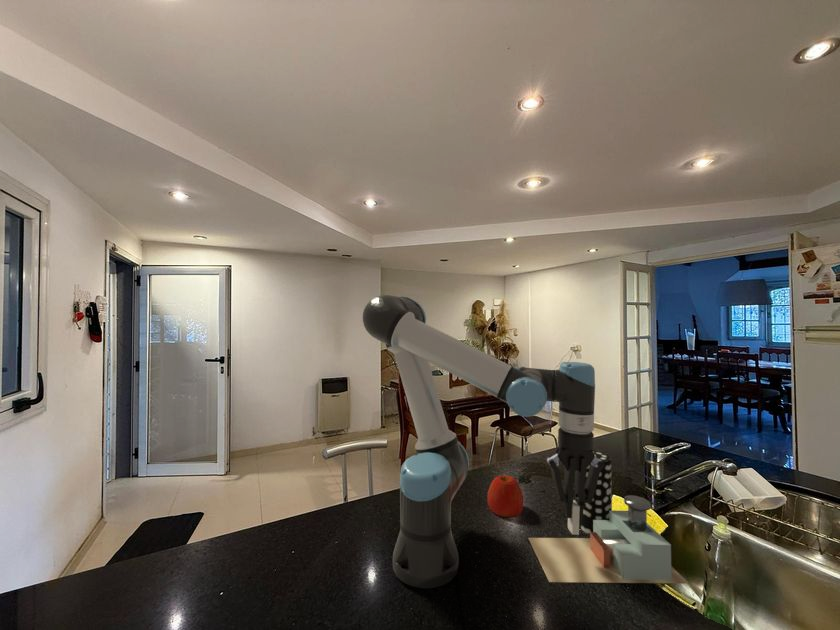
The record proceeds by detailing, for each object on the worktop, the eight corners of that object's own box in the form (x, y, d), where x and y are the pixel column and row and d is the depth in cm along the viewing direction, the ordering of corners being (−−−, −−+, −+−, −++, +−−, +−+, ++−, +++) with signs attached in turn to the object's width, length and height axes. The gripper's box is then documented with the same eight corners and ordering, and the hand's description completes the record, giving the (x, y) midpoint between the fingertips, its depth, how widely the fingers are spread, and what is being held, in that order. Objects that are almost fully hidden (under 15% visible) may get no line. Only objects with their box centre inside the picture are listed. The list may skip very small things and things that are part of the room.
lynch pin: (603, 567, 78) (603, 549, 78) (590, 548, 84) (590, 532, 85) (664, 568, 78) (664, 549, 78) (646, 549, 84) (646, 532, 84)
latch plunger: (632, 532, 79) (632, 506, 79) (619, 519, 84) (619, 495, 84) (656, 533, 78) (655, 506, 79) (641, 519, 84) (641, 495, 84)
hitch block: (623, 579, 74) (623, 544, 75) (593, 540, 88) (593, 510, 88) (671, 580, 74) (670, 544, 74) (633, 540, 88) (633, 510, 88)
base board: (549, 586, 74) (549, 581, 74) (528, 541, 89) (528, 537, 89) (688, 587, 73) (688, 583, 73) (643, 542, 88) (643, 538, 88)
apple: (508, 500, 109) (508, 466, 109) (531, 517, 100) (531, 480, 100) (480, 507, 105) (480, 472, 105) (501, 526, 96) (501, 487, 96)
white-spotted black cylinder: (616, 542, 88) (616, 462, 89) (581, 538, 90) (580, 460, 90) (606, 523, 97) (605, 450, 97) (574, 520, 98) (573, 448, 99)
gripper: (553, 433, 78) (550, 540, 78) (612, 435, 78) (609, 542, 78) (542, 423, 86) (539, 520, 85) (596, 425, 85) (593, 522, 85)
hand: (573, 530), depth 82 cm, fingers closed
